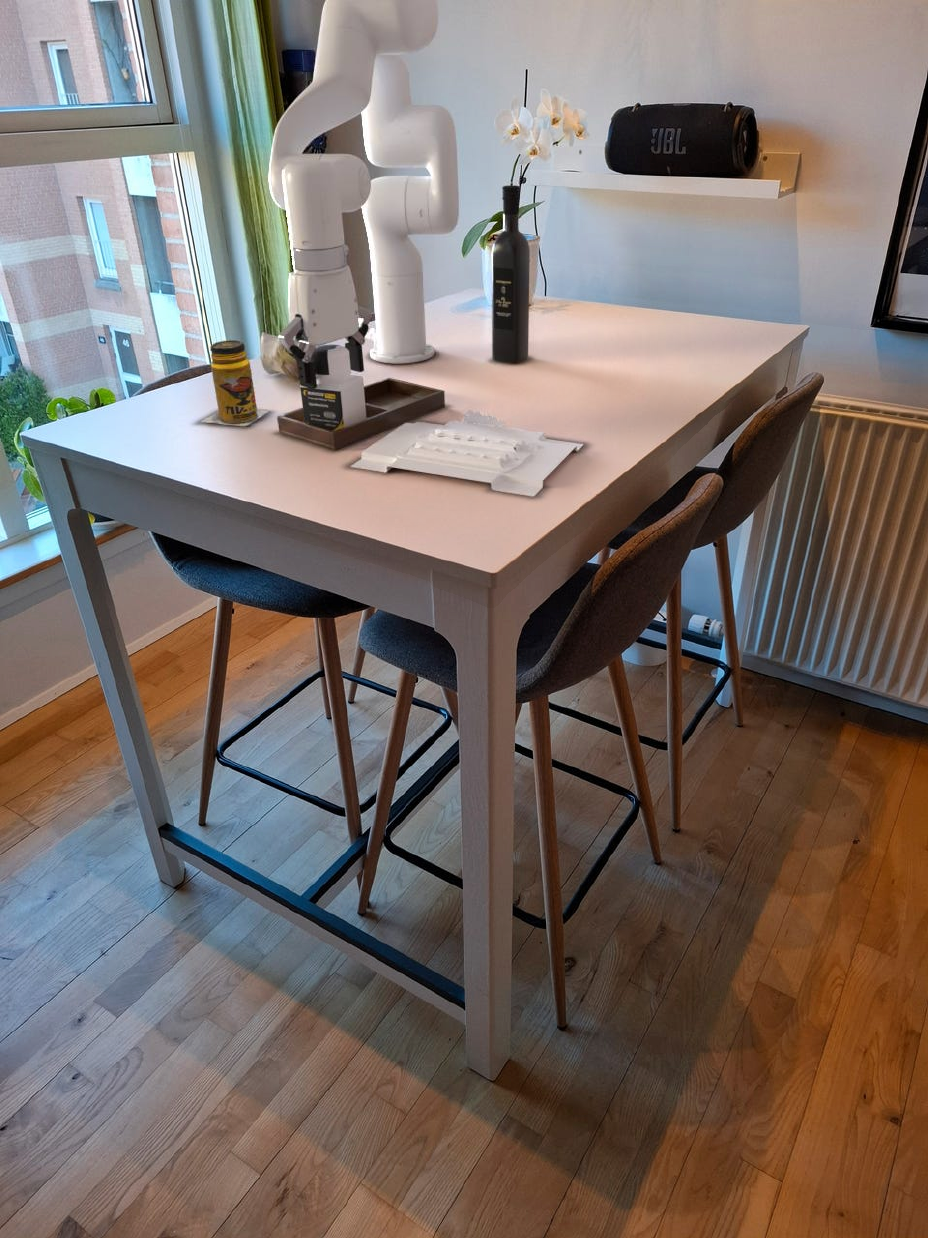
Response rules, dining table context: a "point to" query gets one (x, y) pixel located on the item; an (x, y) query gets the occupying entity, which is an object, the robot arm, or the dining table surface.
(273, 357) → the ceramic sculpture
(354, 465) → the tray
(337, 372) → the medicine bottle
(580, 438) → the dining table surface
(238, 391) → the condiment
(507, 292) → the wine bottle
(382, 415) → the dark wooden divided tray
